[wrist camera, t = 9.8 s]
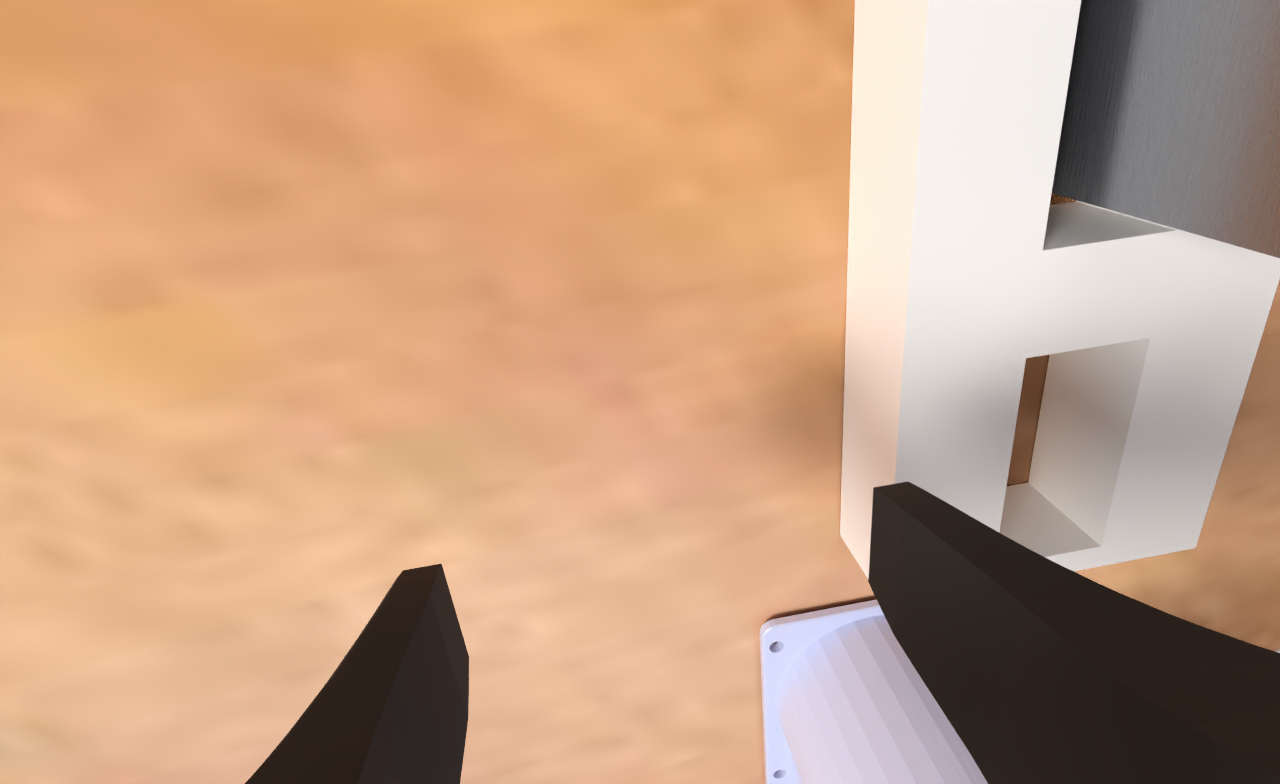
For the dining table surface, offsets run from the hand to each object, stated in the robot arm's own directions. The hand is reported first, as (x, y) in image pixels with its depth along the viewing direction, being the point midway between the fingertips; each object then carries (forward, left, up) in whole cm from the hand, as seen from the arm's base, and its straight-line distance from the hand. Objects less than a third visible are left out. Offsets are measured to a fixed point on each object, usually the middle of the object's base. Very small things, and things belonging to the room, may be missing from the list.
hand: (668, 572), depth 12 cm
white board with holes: (+1, -12, -9) cm, 15 cm away
